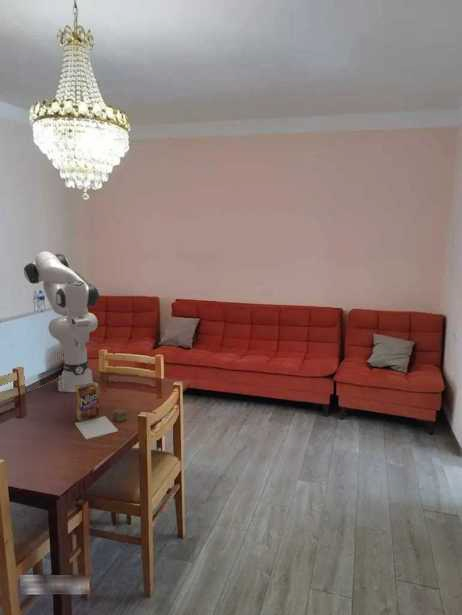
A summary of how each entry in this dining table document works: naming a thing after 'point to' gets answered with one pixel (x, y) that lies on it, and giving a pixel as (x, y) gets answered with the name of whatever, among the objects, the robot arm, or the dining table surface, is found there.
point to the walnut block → (119, 415)
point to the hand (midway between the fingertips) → (79, 348)
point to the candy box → (87, 401)
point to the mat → (96, 427)
